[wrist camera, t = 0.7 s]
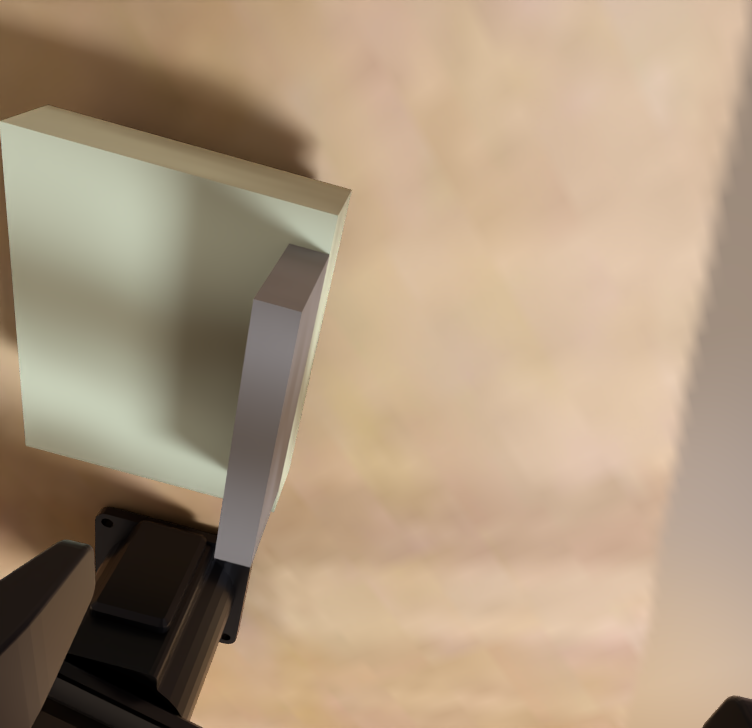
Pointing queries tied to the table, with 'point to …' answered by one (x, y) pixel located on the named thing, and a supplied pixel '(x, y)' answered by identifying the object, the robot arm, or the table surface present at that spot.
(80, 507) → the table surface
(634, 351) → the table surface
